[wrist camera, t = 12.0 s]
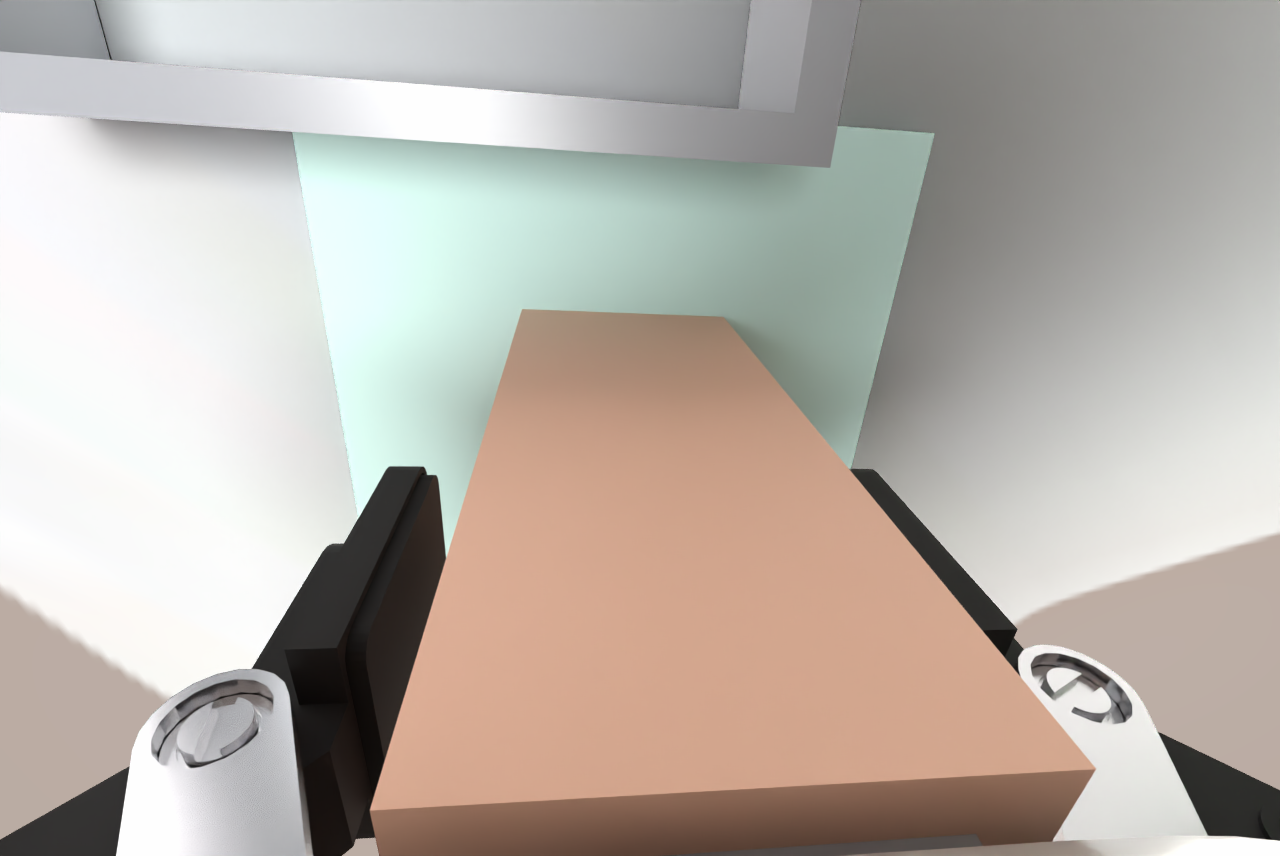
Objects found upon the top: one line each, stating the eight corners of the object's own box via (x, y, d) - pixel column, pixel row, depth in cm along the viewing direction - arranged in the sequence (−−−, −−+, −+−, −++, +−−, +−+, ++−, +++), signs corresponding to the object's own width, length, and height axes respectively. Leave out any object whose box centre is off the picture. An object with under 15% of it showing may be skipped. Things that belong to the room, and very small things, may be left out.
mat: (921, 132, 14) (934, 133, 14) (810, 592, 20) (816, 604, 20) (296, 85, 12) (284, 83, 12) (380, 600, 19) (374, 614, 18)
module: (723, 316, 15) (1169, 857, 4) (701, 486, 17) (943, 1153, 6) (522, 309, 14) (335, 924, 3) (526, 485, 17) (423, 1223, 5)
